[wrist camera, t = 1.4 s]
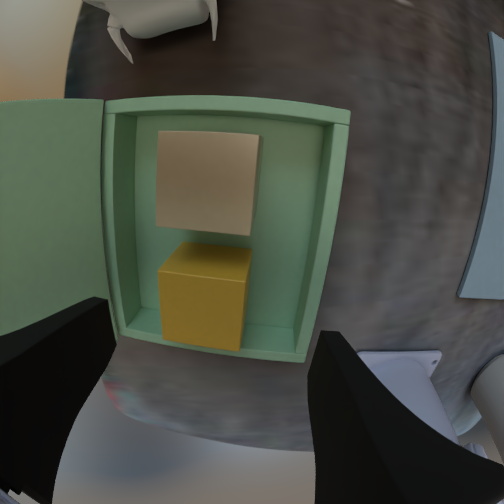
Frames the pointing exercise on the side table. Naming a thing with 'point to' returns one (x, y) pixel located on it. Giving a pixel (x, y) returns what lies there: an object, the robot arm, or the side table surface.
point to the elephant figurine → (154, 17)
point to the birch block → (208, 181)
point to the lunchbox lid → (50, 209)
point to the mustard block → (205, 295)
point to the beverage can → (491, 399)
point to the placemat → (490, 202)
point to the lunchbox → (260, 241)
